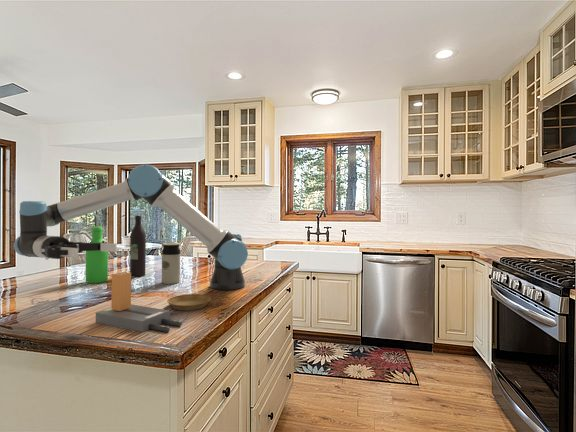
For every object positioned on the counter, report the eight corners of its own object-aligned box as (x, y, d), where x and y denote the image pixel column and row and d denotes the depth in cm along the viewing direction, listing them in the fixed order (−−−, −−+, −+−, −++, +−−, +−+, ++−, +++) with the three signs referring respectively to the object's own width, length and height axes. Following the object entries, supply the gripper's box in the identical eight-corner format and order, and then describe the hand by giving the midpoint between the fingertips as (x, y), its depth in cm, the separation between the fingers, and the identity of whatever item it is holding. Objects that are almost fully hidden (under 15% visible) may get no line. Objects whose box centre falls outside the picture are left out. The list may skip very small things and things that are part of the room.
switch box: (95, 322, 102) (95, 312, 102) (125, 312, 112) (126, 303, 112) (161, 335, 92) (161, 324, 92) (187, 323, 102) (188, 313, 102)
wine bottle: (130, 275, 173) (130, 215, 172) (145, 274, 176) (145, 215, 175) (129, 277, 166) (130, 215, 166) (145, 276, 169) (146, 215, 169)
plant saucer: (193, 315, 111) (193, 307, 111) (157, 309, 117) (157, 301, 117) (219, 303, 125) (219, 296, 125) (186, 299, 131) (186, 292, 131)
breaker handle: (111, 309, 104) (111, 274, 104) (122, 306, 108) (122, 272, 107) (120, 311, 103) (120, 275, 102) (130, 307, 106) (131, 273, 106)
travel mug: (172, 279, 163) (173, 242, 163) (183, 282, 159) (183, 243, 158) (157, 282, 157) (158, 243, 157) (168, 285, 152) (169, 244, 152)
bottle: (100, 284, 152) (101, 227, 151) (81, 283, 152) (81, 227, 151) (111, 280, 161) (111, 226, 160) (92, 279, 161) (93, 226, 160)
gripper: (86, 253, 128) (129, 256, 120) (11, 263, 105) (58, 268, 97) (86, 233, 128) (129, 235, 120) (10, 239, 105) (57, 242, 97)
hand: (97, 250), depth 108 cm, fingers open, 13 cm apart
